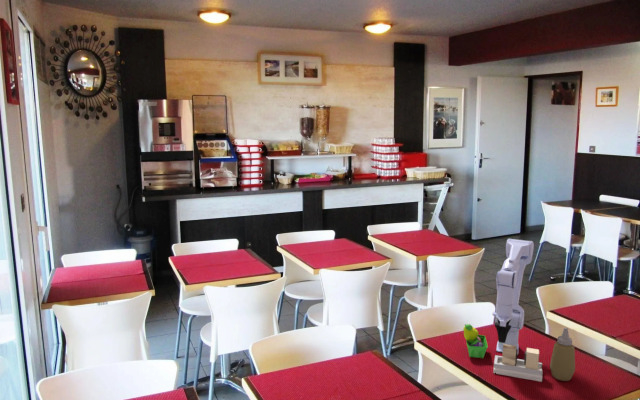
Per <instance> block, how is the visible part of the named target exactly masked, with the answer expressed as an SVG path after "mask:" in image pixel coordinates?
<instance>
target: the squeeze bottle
mask: <svg viewBox="0 0 640 400" xmlns="http://www.w3.org/2000/svg"><path fill="white" fill-rule="evenodd" d="M575 350H576V349H575V346H574V345H573V339H572V338H571V337H570V335H569V328H567V327H564V328H563V330H562V334H561V335H559V336H558V337H557V341H556V342H555V343H554V345H553V349H552V354H551V359H550V365H549V367H550V372H551V374H552V377H553V378H555V380H558V381H563V382H568V381H570V380H571V379H572V378H573V375H574V373H575V371H576V352H575Z"/></svg>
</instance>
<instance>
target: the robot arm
mask: <svg viewBox="0 0 640 400" xmlns="http://www.w3.org/2000/svg"><path fill="white" fill-rule="evenodd" d="M534 244H535V243H534V242H533V241H532V240H523V239H516V238H515V239H513V238H507V240H506V243H505V254H506V259H505V260H504V261H503V263H502V267H501V269H500V270H498V271H497V273H496V277H495V281H496V283H495V284H496V291H497V293H496V304H495V305H496V306H495V307H496V308H495V311H493V312H492V316H494V317H495V319H494V320H495V322H494V327H495V329H496V333H497V339H498V341H497V343H496V350H495V351H496V352H499V353H503V344H508V345H514V346H516V349H518V350H519V348H520V347H519V345H520V344H519V334H520V330H522V329H523V328H524V324H525V310H524V308H523V307H522V306H521V305H519V301H520V297H521V292H522V291H521V289H522V284H523V283H522V282H523V277H524V271H525V269H526V266H527V265H529V264H531V263H532V261H533V256H534V250H535V249H534V248H535V245H534ZM518 355H519V351H518V352H517V356H518Z"/></svg>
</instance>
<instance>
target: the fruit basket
mask: <svg viewBox="0 0 640 400" xmlns="http://www.w3.org/2000/svg"><path fill="white" fill-rule="evenodd" d="M462 329H463V336H464V339H465V341H466V346H467V347H466V348H467V351H468V357H469V358H480V359H484V357H485V354H486V351H487V349H488V347H489V346H488V341H487V338H486V335H483V334H479V331H478V330H477V328H475V327H474V326H473V325H472V324H469V323H468V324H466V323H465V324H464V326H463V328H462Z"/></svg>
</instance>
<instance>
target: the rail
mask: <svg viewBox="0 0 640 400" xmlns="http://www.w3.org/2000/svg"><path fill="white" fill-rule="evenodd" d="M539 357H540V349H538V348H531V347H526V350H525V351H524V358H523V359H520V358H517V363H515V366H512V365H506V364H502V355H496V354H495V355H494V359H493V360H494V361H493V371H492V373H493V374H495V373H496V374H497V375H500V376H501V375H502V376H508V377H512V378H518V379H524V380H531V381H535V382H539V383H540V382H541V383H542V382H543V362H539V359H540V358H539Z"/></svg>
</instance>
